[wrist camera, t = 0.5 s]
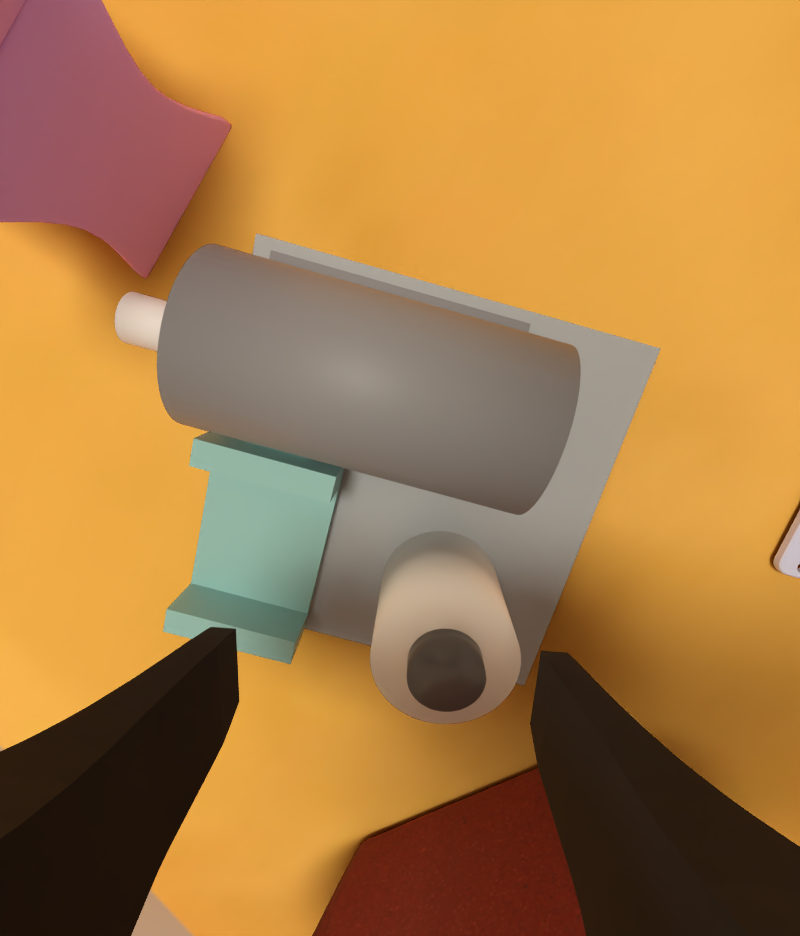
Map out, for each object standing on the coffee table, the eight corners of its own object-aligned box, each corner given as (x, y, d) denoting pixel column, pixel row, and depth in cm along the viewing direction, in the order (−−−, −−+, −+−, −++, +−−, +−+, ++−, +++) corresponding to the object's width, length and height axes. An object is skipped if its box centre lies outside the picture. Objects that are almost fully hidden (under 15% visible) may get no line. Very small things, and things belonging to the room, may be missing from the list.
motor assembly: (650, 348, 18) (770, 352, 12) (520, 673, 22) (559, 803, 16) (199, 219, 18) (79, 155, 11) (148, 576, 21) (39, 672, 15)
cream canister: (512, 548, 20) (549, 631, 14) (476, 646, 21) (497, 759, 15) (398, 517, 19) (390, 590, 14) (369, 618, 21) (350, 722, 15)
